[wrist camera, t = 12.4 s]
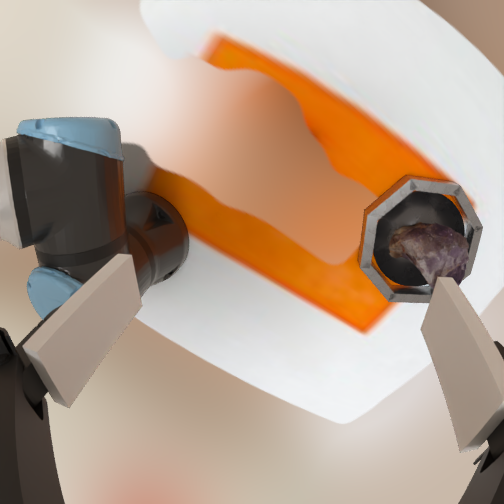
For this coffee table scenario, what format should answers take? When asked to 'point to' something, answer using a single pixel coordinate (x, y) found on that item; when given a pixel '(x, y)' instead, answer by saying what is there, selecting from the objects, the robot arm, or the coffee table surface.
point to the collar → (409, 214)
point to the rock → (432, 250)
